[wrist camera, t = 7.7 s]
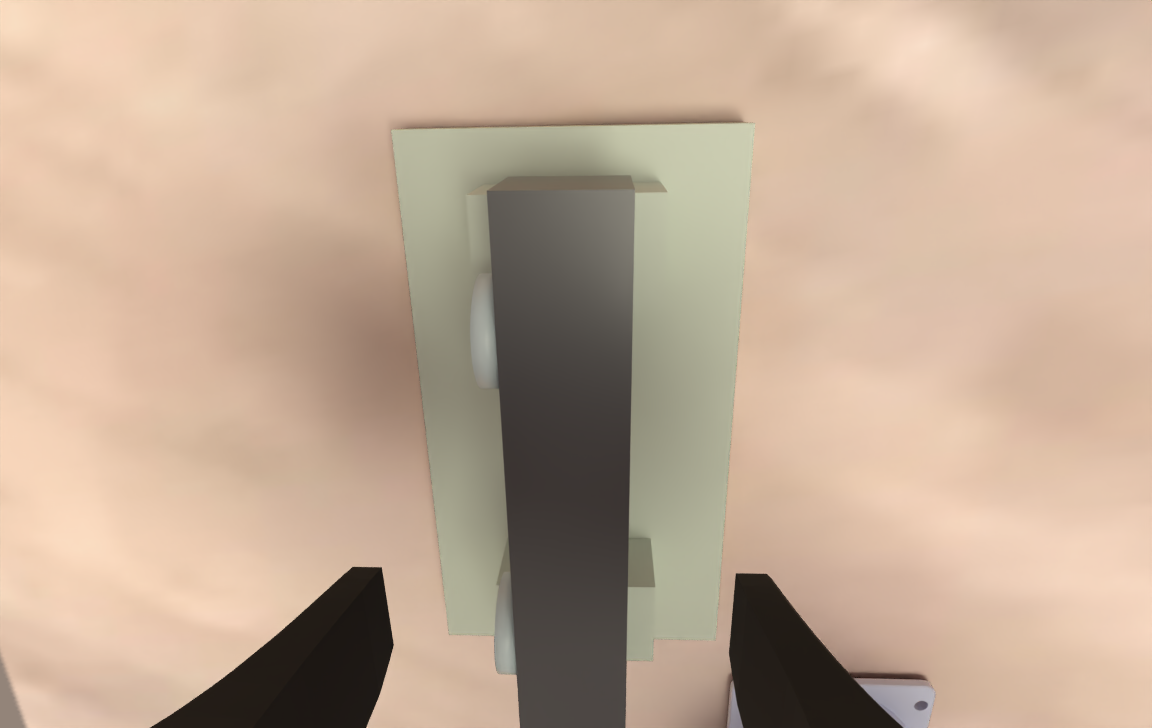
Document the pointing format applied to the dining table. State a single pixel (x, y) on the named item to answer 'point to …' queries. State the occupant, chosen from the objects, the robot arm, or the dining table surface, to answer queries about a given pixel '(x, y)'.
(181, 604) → the dining table surface
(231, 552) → the dining table surface
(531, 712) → the bar
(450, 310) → the stand
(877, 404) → the dining table surface
